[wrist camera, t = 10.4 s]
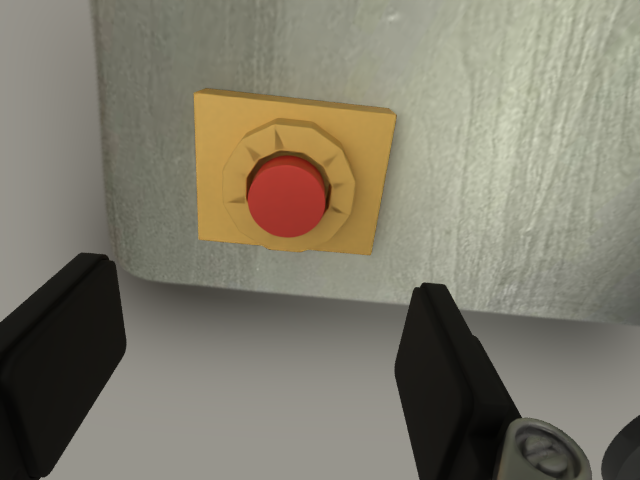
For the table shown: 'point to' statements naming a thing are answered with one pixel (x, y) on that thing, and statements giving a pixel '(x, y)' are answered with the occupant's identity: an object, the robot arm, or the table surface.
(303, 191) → the button
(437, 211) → the table surface
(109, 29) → the table surface
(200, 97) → the button box
